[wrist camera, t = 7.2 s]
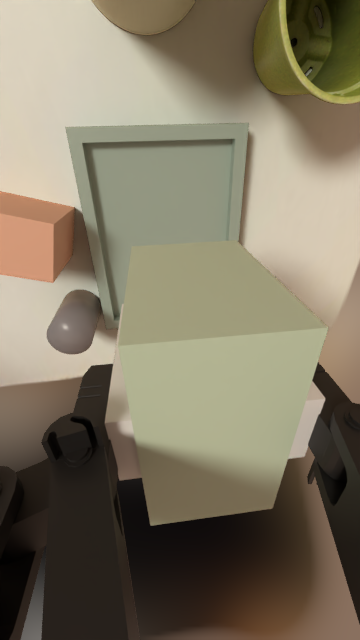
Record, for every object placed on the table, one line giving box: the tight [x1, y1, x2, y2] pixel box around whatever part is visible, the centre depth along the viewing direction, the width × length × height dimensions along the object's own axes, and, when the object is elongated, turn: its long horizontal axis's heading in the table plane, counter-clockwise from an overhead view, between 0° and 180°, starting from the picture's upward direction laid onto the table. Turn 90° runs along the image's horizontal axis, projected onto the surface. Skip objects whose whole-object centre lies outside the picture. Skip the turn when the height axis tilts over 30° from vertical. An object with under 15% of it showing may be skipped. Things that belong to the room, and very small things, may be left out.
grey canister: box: [47, 290, 101, 354], centre depth 28 cm, size 4×4×6 cm
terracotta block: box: [0, 191, 75, 283], centre depth 22 cm, size 4×8×7 cm, turn 77°
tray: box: [65, 123, 249, 329], centre depth 26 cm, size 14×18×2 cm
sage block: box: [118, 240, 328, 525], centre depth 11 cm, size 4×8×7 cm, turn 2°
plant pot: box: [253, 0, 360, 105], centre depth 17 cm, size 9×9×9 cm
